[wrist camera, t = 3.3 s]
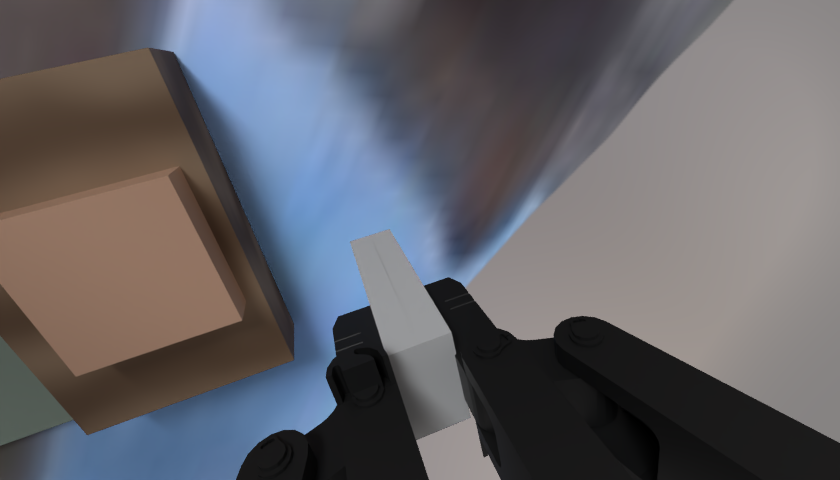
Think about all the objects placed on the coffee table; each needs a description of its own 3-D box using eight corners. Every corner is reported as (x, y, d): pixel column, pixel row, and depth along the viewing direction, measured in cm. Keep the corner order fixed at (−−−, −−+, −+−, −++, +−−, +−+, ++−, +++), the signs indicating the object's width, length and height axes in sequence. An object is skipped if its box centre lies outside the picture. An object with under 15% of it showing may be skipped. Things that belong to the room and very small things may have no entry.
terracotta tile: (-9, 215, 17) (-43, 231, 16) (179, 166, 19) (167, 175, 17) (94, 351, 21) (75, 376, 19) (246, 300, 22) (242, 320, 21)
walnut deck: (-97, 109, 18) (-191, 119, 15) (173, 52, 20) (148, 47, 17) (114, 386, 26) (87, 435, 23) (294, 324, 28) (294, 359, 25)
